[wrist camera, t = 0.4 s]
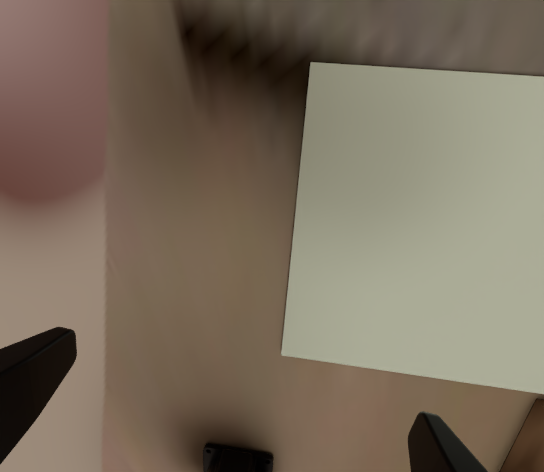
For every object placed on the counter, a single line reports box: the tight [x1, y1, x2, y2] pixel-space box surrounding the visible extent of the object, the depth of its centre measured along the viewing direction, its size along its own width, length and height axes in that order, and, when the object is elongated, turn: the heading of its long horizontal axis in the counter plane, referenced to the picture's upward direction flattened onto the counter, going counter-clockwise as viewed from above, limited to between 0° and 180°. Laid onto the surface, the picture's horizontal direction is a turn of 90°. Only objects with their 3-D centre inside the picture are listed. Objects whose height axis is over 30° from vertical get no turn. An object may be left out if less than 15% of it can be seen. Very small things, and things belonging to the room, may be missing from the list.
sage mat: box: [281, 62, 544, 394], centre depth 21 cm, size 20×20×1 cm
